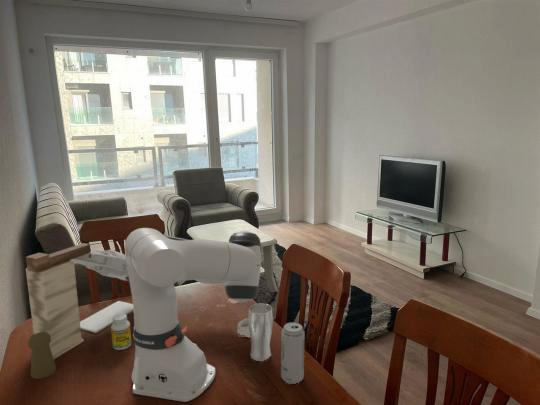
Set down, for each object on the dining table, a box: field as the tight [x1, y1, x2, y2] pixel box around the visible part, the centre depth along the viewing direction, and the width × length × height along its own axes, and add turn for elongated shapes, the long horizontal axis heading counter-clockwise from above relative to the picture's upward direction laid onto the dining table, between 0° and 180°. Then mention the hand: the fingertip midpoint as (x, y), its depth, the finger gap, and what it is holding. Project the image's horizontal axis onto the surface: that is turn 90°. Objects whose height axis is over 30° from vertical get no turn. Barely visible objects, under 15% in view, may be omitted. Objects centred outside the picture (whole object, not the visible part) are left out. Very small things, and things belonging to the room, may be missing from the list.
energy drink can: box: [280, 321, 306, 385], centre depth 101 cm, size 6×6×15 cm
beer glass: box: [247, 302, 274, 362], centre depth 111 cm, size 7×7×15 cm
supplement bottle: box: [110, 314, 132, 351], centre depth 116 cm, size 5×5×10 cm
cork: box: [27, 332, 57, 380], centre depth 104 cm, size 6×6×11 cm
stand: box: [25, 260, 84, 360], centre depth 114 cm, size 9×10×26 cm
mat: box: [80, 300, 134, 334], centre depth 135 cm, size 10×20×1 cm, turn 157°
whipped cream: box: [236, 318, 250, 338], centre depth 124 cm, size 8×7×5 cm
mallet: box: [25, 242, 91, 273], centre depth 115 cm, size 4×18×4 cm, turn 157°
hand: (79, 254), depth 121 cm, fingers open, 8 cm apart
